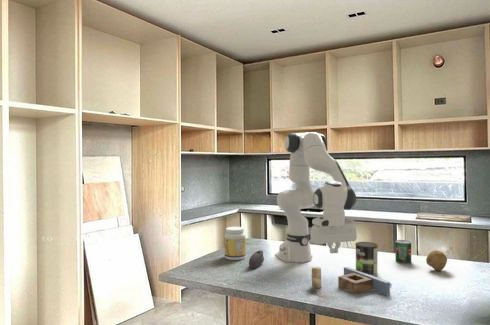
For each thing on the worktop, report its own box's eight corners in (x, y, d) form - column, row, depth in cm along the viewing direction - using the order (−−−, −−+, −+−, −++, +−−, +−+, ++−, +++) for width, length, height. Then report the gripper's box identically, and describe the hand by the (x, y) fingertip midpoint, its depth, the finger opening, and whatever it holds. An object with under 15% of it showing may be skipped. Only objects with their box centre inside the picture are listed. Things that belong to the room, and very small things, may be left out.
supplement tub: (221, 256, 204) (221, 227, 204) (240, 253, 209) (240, 225, 209) (229, 261, 193) (229, 231, 193) (249, 259, 198) (249, 229, 198)
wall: (343, 278, 164) (343, 267, 164) (347, 277, 165) (346, 266, 165) (386, 295, 143) (386, 282, 143) (389, 294, 144) (389, 282, 144)
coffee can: (365, 277, 165) (364, 247, 165) (351, 271, 174) (350, 242, 174) (382, 274, 168) (382, 245, 168) (368, 268, 178) (367, 240, 178)
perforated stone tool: (254, 271, 176) (254, 257, 176) (244, 269, 179) (244, 256, 179) (266, 263, 190) (266, 250, 190) (257, 262, 192) (257, 249, 192)
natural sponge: (426, 272, 172) (425, 251, 172) (426, 267, 179) (426, 247, 179) (447, 274, 167) (447, 253, 167) (446, 269, 175) (446, 249, 175)
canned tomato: (414, 264, 185) (414, 243, 185) (399, 264, 185) (398, 243, 185) (407, 259, 193) (407, 239, 193) (393, 259, 193) (392, 239, 193)
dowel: (310, 285, 155) (309, 267, 155) (317, 284, 157) (316, 266, 156) (316, 288, 151) (315, 270, 151) (323, 287, 153) (323, 268, 153)
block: (338, 286, 153) (338, 276, 153) (355, 282, 158) (355, 272, 158) (355, 294, 144) (355, 283, 144) (372, 289, 149) (372, 279, 149)
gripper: (351, 217, 153) (351, 249, 154) (308, 220, 148) (308, 252, 148) (359, 219, 147) (359, 252, 148) (315, 222, 142) (315, 256, 142)
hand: (333, 252), depth 148 cm, fingers closed
